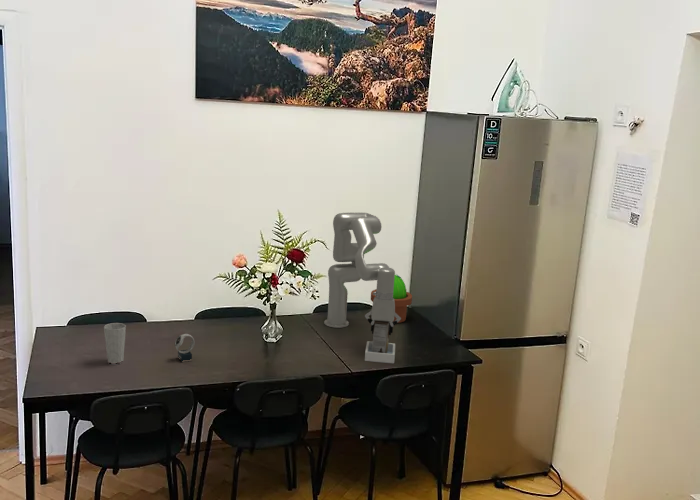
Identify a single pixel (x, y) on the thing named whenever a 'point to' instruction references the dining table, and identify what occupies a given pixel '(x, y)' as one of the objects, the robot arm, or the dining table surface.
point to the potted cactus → (399, 298)
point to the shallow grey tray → (380, 354)
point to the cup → (115, 341)
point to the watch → (184, 353)
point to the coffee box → (381, 337)
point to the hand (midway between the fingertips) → (381, 333)
